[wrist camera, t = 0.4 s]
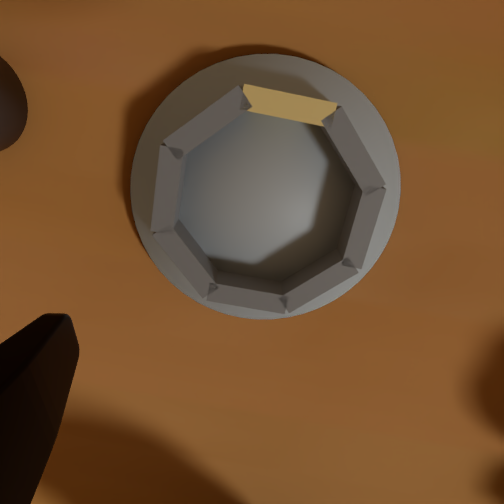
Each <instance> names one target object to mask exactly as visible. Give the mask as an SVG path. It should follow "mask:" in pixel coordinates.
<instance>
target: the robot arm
mask: <svg viewBox="0 0 504 504" xmlns="http://www.w3.org/2000/svg"><path fill="white" fill-rule="evenodd" d="M78 358H79V344H78V340H77V337H76V333H75V330H74V327H73V323H72V320H71V318H70V316H69V315H67V314H62V313H47V314H44V315H42V316H40V317H39V318H37V319H36V320H34V321H33V322H31V323H30V324H29V325H27V326H26V327H24V328H23V329H21V330H20V331H18V332H17V333H15V334H14V335H13V336H11V337H10V338H8V339H7V340H5V341H4V342H2V343H1V344H0V504H31V501H32V499H33V496H34V494H35V491H36V489H37V486H38V484H39V481H40V479H41V476H42V474H43V471H44V469H45V466H46V463H47V461H48V458H49V456H50V453H51V451H52V448H53V445H54V443H55V440H56V437H57V434H58V431H59V427H60V424H61V421H62V417H63V413H64V410H65V406H66V402H67V399H68V395H69V391H70V388H71V384H72V380H73V377H74V373H75V369H76V366H77V362H78Z"/></svg>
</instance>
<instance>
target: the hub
mask: <svg viewBox="0 0 504 504" xmlns="http://www.w3.org/2000/svg"><path fill="white" fill-rule="evenodd" d="M400 193H401V190H400V169H399V162H398V156H397V153H396V150H395V146H394V143H393V139H392V137H391V135H390V133H389V131H388V128H387V126H386V124H385V122H384V121H383V119H382V117H381V116H380V114H379V113H378V111H377V110H376V108H375V107H374V106H373V104H372V103H371V102H370V101H369V100H368V99H367V97H366V96H365V95H364V94H363V93H362V92H361V91H360V90H359V89H358V88H356V87H355V86H354V85H353V84H352V83H351V82H349V81H348V80H347V79H345V78H344V77H342V76H341V75H339V74H337V73H336V72H334V71H333V70H331V69H329V68H326V67H324V66H322V65H320V64H318V63H315V62H313V61H309V60H306V59H302V58H299V57H295V56H288V55H281V54H253V55H246V56H240V57H235V58H232V59H228V60H225V61H222V62H218V63H216V64H214V65H212V66H210V67H207V68H205V69H203V70H201V71H199V72H198V73H196V74H195V75H193V76H191V77H190V78H188V79H187V80H185V81H184V82H183V83H181V84H180V85H179V86H178V87H177V88H176V89H175V90H173V91H172V92H171V93H170V94H169V95H168V96H167V97H166V99H165V100H164V101H163V102H162V103H161V104H160V105H159V107H158V108H157V109H156V111H155V112H154V114H153V115H152V117H151V118H150V120H149V121H148V123H147V125H146V127H145V129H144V131H143V133H142V135H141V138H140V140H139V142H138V146H137V149H136V152H135V156H134V159H133V165H132V172H131V187H130V195H131V204H132V212H133V216H134V220H135V224H136V228H137V230H138V233H139V236H140V238H141V241H142V243H143V245H144V247H145V249H146V250H147V252H148V254H149V256H150V258H151V259H152V261H153V262H154V263H155V265H156V266H157V267H158V269H159V270H160V271H161V272H162V274H163V275H164V276H165V277H166V278H167V279H168V280H169V281H170V282H171V283H172V284H173V285H174V286H176V287H177V288H178V289H179V290H180V291H182V292H183V293H184V294H186V295H187V296H189V297H190V298H192V299H193V300H195V301H196V302H198V303H200V304H202V305H204V306H206V307H208V308H210V309H213V310H216V311H219V312H222V313H224V314H228V315H232V316H237V317H241V318H250V319H278V318H286V317H291V316H296V315H300V314H304V313H307V312H309V311H312V310H315V309H318V308H320V307H322V306H324V305H326V304H328V303H330V302H332V301H334V300H335V299H337V298H338V297H340V296H341V295H343V294H344V293H346V292H347V291H348V290H349V289H351V288H352V287H353V286H354V285H355V284H357V283H358V282H359V281H360V280H361V279H362V278H363V277H364V276H365V275H366V273H367V272H368V271H369V270H370V269H371V268H372V266H373V265H374V264H375V262H376V261H377V259H378V258H379V257H380V255H381V253H382V251H383V250H384V248H385V246H386V244H387V242H388V240H389V238H390V235H391V233H392V230H393V228H394V225H395V221H396V217H397V213H398V209H399V201H400Z"/></svg>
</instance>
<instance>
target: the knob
mask: <svg viewBox="0 0 504 504" xmlns="http://www.w3.org/2000/svg"><path fill="white" fill-rule="evenodd" d="M27 113H28V107H27V99H26V95H25V91H24V88H23V86H22V84H21V82H20V80H19V78H18V76H17V75H16V73H15V72H14V70H13V69H12V68H11V67H10V65H9V64H8V63H7V62H6V61H5V60H4V59H2V58H1V57H0V151H2V150H4V149H6V148H8V147H10V146H11V145H12V144H14V143H15V142H16V141H17V140H18V138H19V137H20V136H21V134H22V132H23V130H24V128H25V125H26V121H27Z"/></svg>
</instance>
